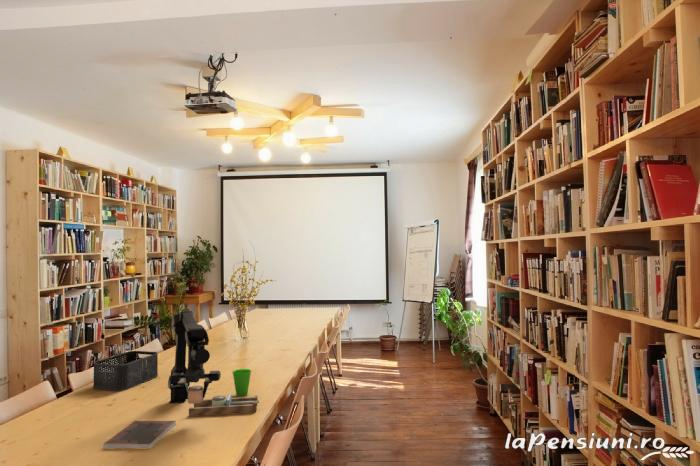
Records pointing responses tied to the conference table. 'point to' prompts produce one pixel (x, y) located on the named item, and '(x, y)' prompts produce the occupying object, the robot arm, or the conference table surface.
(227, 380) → the conference table surface
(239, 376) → the cup
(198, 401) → the jar
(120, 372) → the storage bin
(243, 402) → the pusher
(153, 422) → the picture frame
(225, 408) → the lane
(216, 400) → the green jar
